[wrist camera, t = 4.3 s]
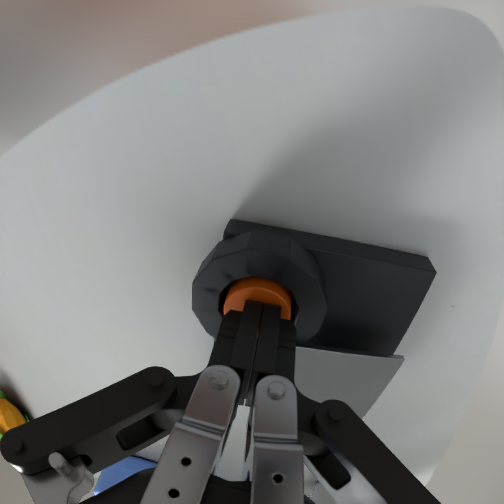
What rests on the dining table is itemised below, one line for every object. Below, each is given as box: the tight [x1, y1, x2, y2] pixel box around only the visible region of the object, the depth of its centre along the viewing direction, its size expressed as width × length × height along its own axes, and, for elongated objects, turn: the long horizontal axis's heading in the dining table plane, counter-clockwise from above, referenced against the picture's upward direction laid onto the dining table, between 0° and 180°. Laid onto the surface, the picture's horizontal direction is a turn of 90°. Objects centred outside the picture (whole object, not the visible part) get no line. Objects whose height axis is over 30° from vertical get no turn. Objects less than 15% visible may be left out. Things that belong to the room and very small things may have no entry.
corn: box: [0, 392, 30, 440], centre depth 34 cm, size 7×8×20 cm
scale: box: [192, 219, 436, 399], centre depth 16 cm, size 12×11×3 cm
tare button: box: [224, 276, 292, 336], centre depth 14 cm, size 3×3×2 cm
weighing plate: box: [294, 342, 404, 419], centre depth 16 cm, size 8×6×1 cm
